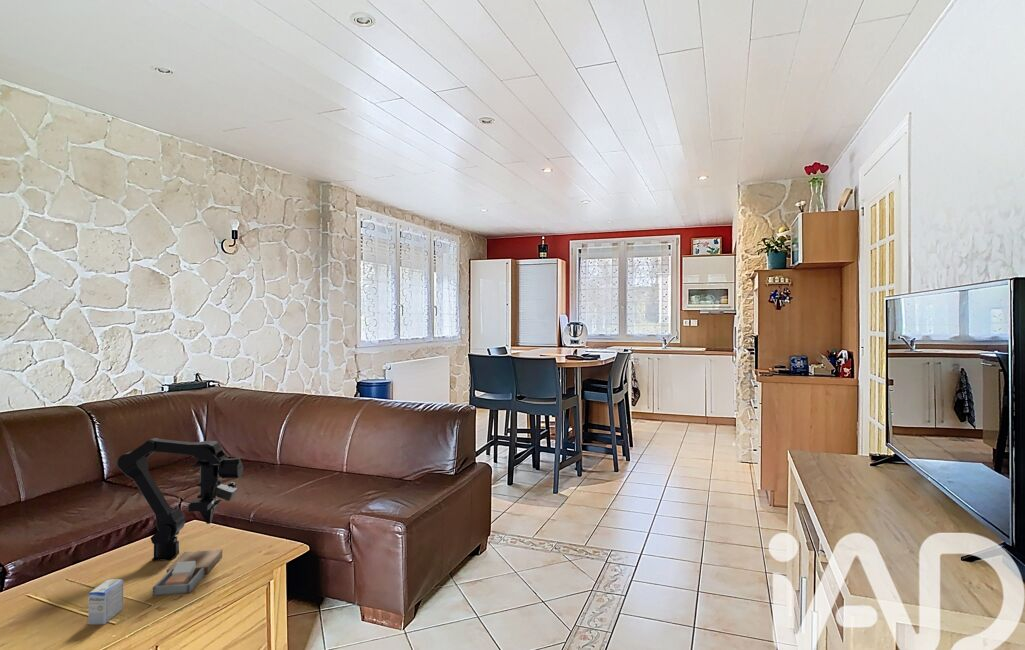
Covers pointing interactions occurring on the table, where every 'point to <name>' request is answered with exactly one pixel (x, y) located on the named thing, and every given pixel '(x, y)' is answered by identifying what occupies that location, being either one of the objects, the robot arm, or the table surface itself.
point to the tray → (177, 589)
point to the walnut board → (200, 560)
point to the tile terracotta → (178, 579)
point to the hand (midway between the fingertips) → (208, 523)
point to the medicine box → (105, 601)
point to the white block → (185, 568)
